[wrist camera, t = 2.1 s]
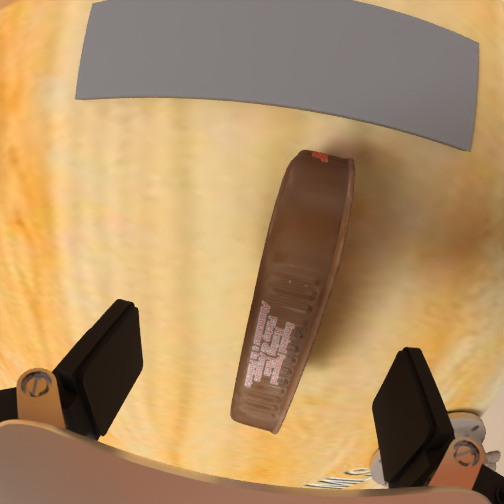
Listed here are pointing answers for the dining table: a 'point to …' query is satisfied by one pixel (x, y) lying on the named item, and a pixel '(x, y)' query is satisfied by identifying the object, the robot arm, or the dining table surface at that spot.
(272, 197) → the dining table surface
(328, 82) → the charcoal mat
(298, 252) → the tin
